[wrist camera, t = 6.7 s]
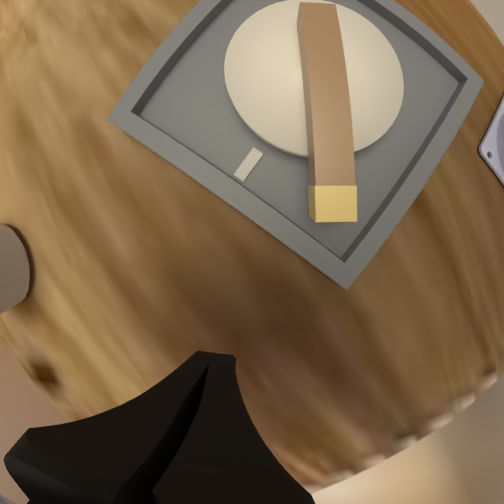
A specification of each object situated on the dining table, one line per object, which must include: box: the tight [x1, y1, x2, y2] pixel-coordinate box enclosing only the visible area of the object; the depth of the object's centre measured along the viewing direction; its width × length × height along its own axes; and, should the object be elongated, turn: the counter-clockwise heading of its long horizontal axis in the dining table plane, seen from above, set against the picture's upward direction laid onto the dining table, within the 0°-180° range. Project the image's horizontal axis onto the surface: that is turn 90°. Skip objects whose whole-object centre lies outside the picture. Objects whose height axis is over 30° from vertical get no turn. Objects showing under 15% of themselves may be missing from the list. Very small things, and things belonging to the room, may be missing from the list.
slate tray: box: [108, 0, 484, 290], centre depth 16 cm, size 18×18×2 cm
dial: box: [224, 0, 404, 222], centre depth 14 cm, size 10×13×4 cm
